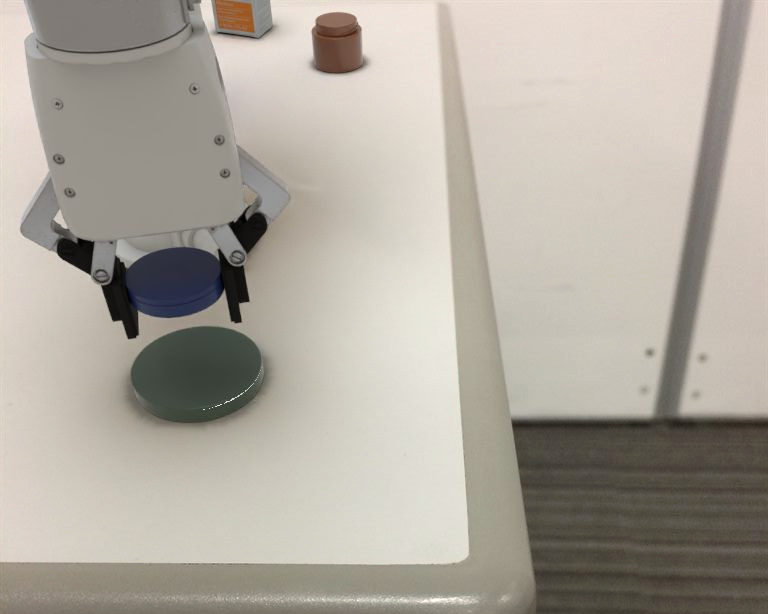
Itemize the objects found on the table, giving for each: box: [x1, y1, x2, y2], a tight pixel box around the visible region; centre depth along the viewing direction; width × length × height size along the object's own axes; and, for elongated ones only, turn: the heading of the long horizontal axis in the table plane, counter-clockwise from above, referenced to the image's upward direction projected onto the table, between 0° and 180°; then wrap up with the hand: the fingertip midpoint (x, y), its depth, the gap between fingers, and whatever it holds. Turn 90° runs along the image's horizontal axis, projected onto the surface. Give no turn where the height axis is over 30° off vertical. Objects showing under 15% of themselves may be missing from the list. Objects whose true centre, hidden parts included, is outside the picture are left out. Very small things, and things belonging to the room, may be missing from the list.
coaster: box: [129, 325, 265, 423], centre depth 57 cm, size 9×9×1 cm
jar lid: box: [125, 247, 225, 319], centre depth 51 cm, size 6×6×1 cm
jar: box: [311, 11, 364, 74], centre depth 92 cm, size 6×6×4 cm
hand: (184, 316), depth 53 cm, fingers closed on jar lid, 5 cm apart
